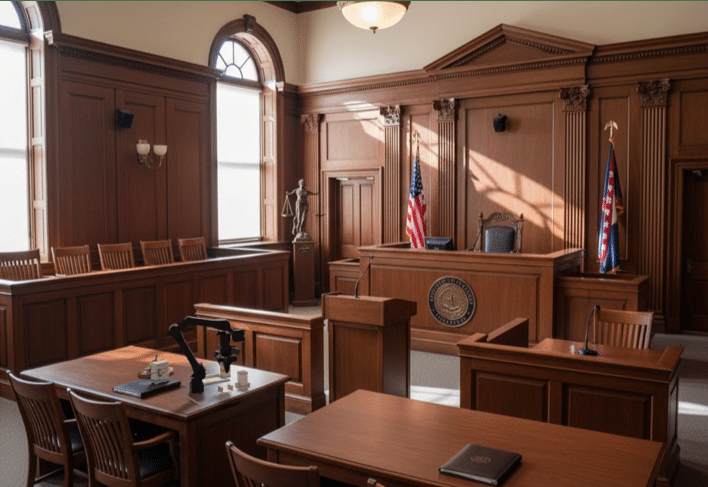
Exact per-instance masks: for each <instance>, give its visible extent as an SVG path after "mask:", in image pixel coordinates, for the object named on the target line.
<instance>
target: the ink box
mask: <svg viewBox="0 0 708 487" xmlns="http://www.w3.org/2000/svg"><path fill="white" fill-rule="evenodd" d="M151 362H152V361H151ZM151 362H150V363H151ZM169 367H170V364H169V360H166V359H164V360H162V359H160V361H159V360H157V361H156V362H154V361H153V362H152V363H151V378H150V382H151V381H156V382H157V381H160V380H163V379H169V380H170V376H169Z"/></svg>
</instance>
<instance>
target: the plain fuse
mask: <svg viewBox="0 0 708 487" xmlns="http://www.w3.org/2000/svg"><path fill="white" fill-rule="evenodd" d="M248 373H249V372H248V371H247V370H238V371H237V370H236V374H237V375H236V376H237V381H236V382H237V383H239V384H241V388H243V387H248V382H249V381H248V377H249V376H248Z"/></svg>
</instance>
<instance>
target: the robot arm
mask: <svg viewBox="0 0 708 487" xmlns="http://www.w3.org/2000/svg"><path fill="white" fill-rule="evenodd" d="M190 325H191V326H200V327H207V328H213V329H216V330H217V331H216V332H215V336H218V340H219V341H218V345H217V347H218V348H219V350H214V351H213V352H212V357H213V358H215V360H216V361H217V364H218V365H219V366H220V362H222V363H223V366H224V369H225V372H226V373H228V372H229V369H230V368H231V365H232V364H233V363H234V362H238V361H239V358H238V356H240V354H241V351H242V349H240V348H237V346H236V345H234V344H231V341H232V342H233V343H245V340H246V336H245V330H244V328H239V329H234V328H233V327H232V326H231V323H230V320H228V318H216V319H212V318H203V317H195V316H191V315H187V316H185V317H184V318H183V319H181V320H179V321H177V322H176V323H172V324H171V325H170V326H169V328H168V332H169V335H170V336H171V338H172V339H173V340H174V341H175V342H176V343H177V345H179V347H180V349H181V351H182V352H183V355H184V357H185V358H186V359H187V362H189V363H188V364H190V368H191V369H192V374H191V375H190V377H189V378H190V381H189V393H190V394H201V393H202V392H205V385H204V384H203V381H202V380H203V379H204V378H205V377H206V375H207V373H206V371H207V369H206V367H205V366H204V365H203V364H204V363H203V362H202V361H200V362H199V361H198V360H197V358H196V357H195V355H194V354H193V351H192V350H191V348H190V347H189V344H188V342H187V341H186V340H185V338H184V335H183V332H182V331H184V330H185V329H187V327H188V326H190Z"/></svg>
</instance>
